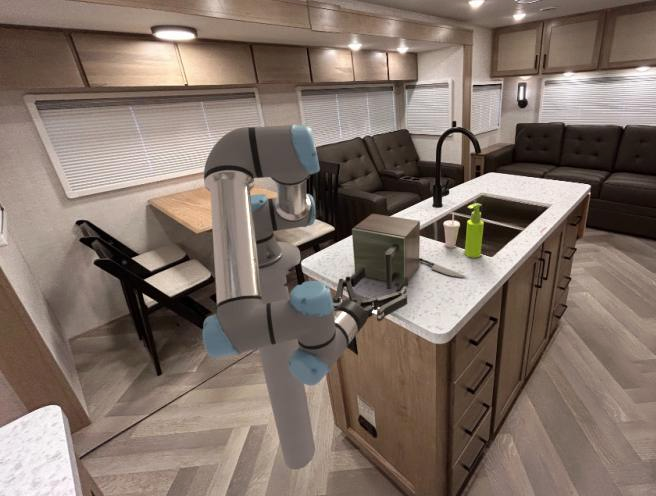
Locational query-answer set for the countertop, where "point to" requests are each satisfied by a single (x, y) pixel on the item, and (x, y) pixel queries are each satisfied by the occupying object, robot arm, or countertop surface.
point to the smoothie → (451, 232)
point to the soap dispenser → (474, 233)
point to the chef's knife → (442, 269)
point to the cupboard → (397, 228)
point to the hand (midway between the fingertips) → (384, 276)
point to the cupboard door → (379, 256)
